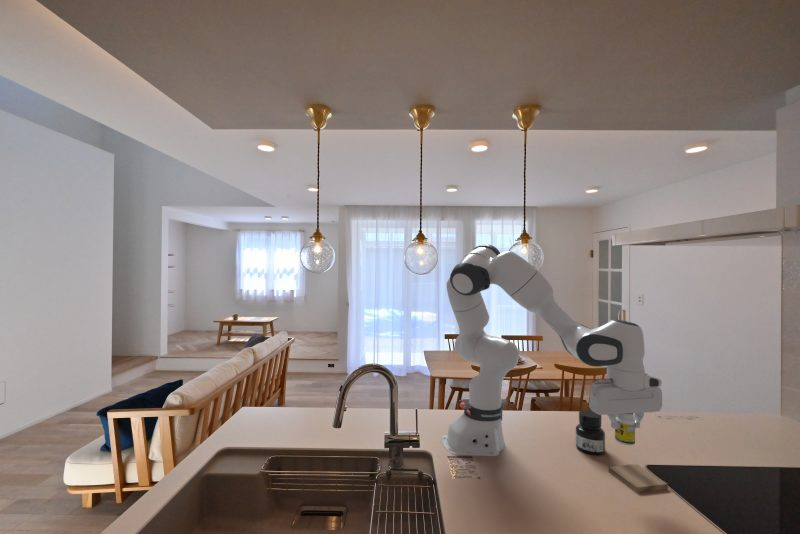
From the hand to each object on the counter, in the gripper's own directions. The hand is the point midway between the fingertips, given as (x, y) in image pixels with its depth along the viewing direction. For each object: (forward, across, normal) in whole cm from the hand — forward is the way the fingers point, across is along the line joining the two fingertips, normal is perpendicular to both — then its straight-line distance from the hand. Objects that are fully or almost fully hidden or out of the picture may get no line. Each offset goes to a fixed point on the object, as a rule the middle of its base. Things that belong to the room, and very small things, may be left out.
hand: (625, 427), depth 95 cm
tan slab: (+18, +7, +4) cm, 19 cm away
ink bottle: (+17, +6, +22) cm, 28 cm away
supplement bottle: (+4, 0, 0) cm, 4 cm away
